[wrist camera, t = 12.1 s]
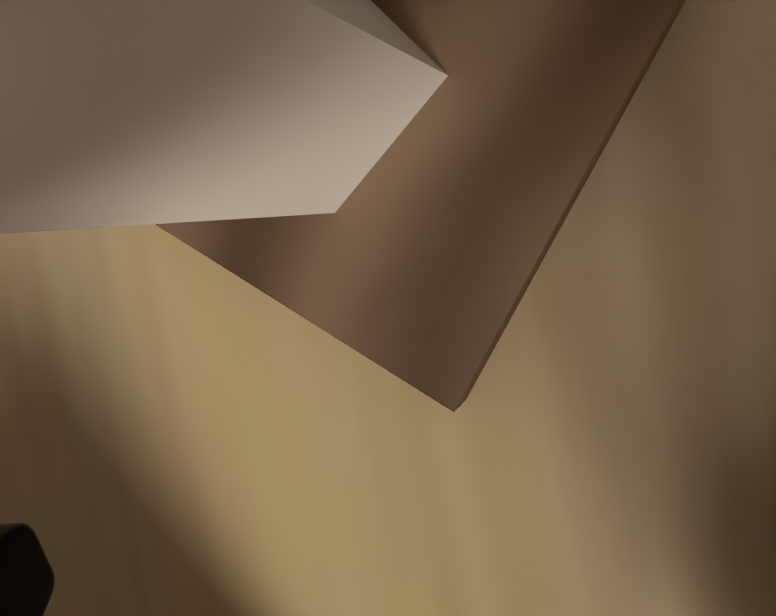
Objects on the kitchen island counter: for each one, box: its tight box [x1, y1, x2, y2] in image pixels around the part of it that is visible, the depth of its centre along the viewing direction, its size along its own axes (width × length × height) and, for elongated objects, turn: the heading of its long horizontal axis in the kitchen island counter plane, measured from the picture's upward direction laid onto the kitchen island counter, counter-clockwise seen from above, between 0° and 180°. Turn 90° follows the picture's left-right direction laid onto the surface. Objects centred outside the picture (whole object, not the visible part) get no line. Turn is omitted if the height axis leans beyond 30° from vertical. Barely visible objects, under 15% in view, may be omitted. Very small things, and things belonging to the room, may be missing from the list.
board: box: [156, 0, 685, 412], centre depth 19 cm, size 15×13×1 cm
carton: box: [0, 0, 448, 234], centre depth 13 cm, size 5×5×13 cm
